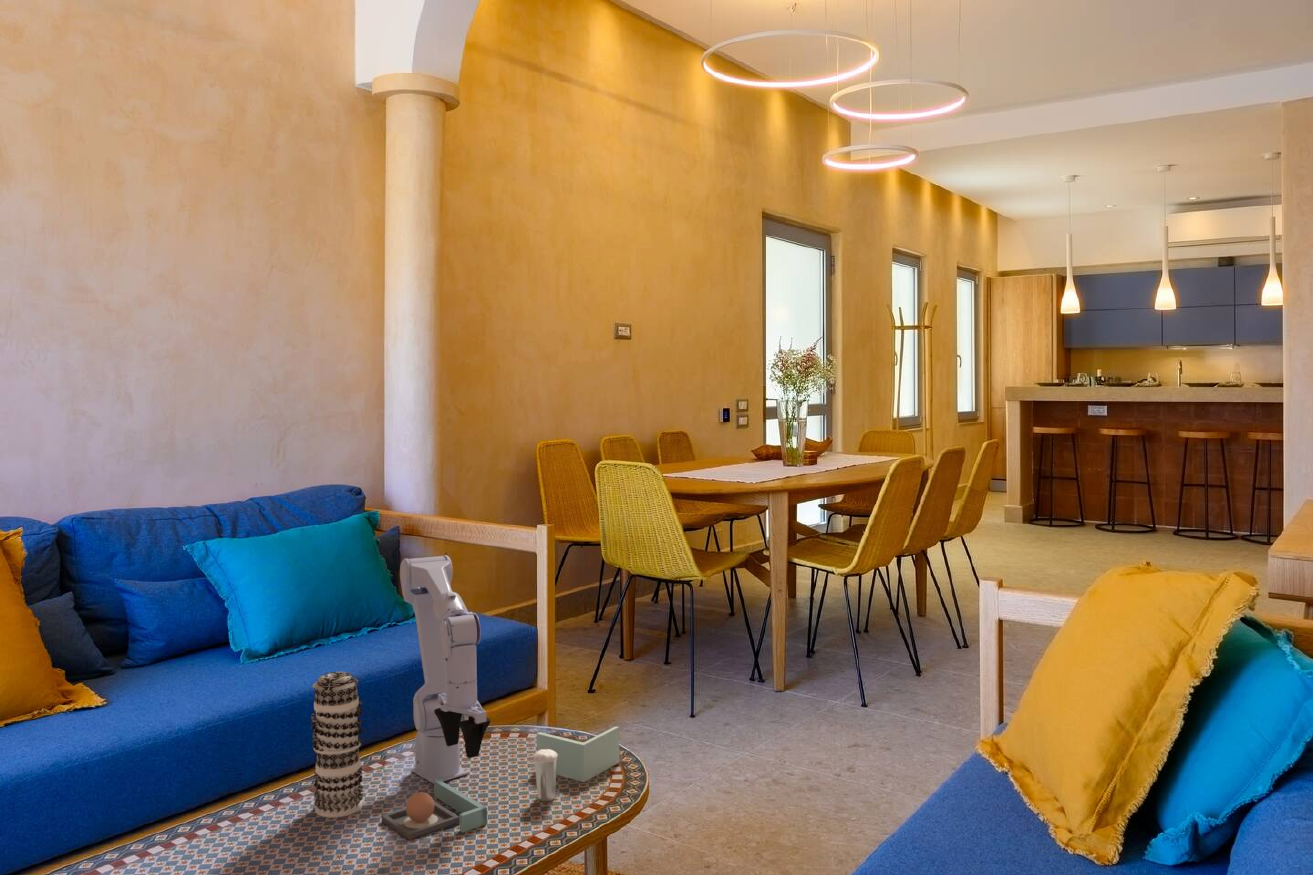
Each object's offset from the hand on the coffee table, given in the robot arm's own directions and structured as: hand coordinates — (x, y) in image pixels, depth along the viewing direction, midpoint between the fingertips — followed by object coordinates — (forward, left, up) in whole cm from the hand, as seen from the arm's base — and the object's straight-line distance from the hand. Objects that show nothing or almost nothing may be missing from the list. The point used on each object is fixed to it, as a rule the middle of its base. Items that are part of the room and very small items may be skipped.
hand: (462, 750), depth 186 cm
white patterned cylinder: (-13, -18, -10) cm, 25 cm away
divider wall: (+3, -4, -10) cm, 11 cm away
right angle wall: (+1, +27, -10) cm, 28 cm away
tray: (+3, -10, -10) cm, 14 cm away
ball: (+3, -10, -9) cm, 14 cm away
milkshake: (+10, +13, -10) cm, 19 cm away
